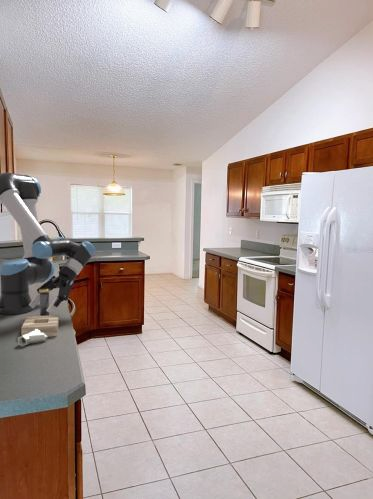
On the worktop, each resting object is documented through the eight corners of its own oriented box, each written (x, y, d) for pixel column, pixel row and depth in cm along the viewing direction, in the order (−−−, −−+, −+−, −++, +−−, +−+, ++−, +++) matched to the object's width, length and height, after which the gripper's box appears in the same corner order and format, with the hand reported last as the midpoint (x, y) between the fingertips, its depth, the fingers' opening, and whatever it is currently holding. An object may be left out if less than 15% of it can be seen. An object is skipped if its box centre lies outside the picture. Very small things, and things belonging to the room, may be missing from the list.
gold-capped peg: (39, 318, 150) (39, 288, 149) (50, 317, 152) (50, 288, 150) (38, 321, 146) (38, 290, 145) (49, 320, 147) (49, 290, 146)
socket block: (26, 326, 139) (26, 316, 138) (58, 324, 142) (58, 315, 142) (21, 338, 125) (21, 327, 125) (57, 335, 129) (56, 325, 129)
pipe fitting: (49, 341, 125) (32, 338, 126) (49, 331, 125) (33, 327, 126) (34, 349, 117) (17, 345, 119) (35, 338, 117) (18, 334, 118)
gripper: (92, 279, 152) (62, 320, 142) (59, 272, 167) (30, 309, 156) (82, 268, 147) (50, 309, 137) (49, 262, 162) (18, 299, 152)
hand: (39, 309), depth 147 cm, fingers open, 13 cm apart
